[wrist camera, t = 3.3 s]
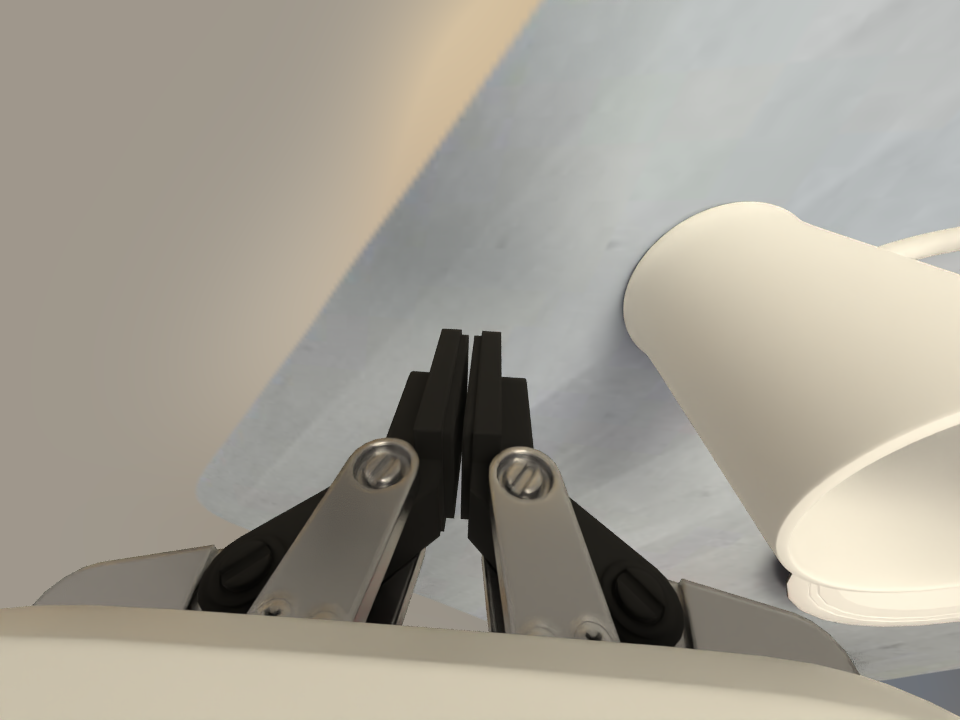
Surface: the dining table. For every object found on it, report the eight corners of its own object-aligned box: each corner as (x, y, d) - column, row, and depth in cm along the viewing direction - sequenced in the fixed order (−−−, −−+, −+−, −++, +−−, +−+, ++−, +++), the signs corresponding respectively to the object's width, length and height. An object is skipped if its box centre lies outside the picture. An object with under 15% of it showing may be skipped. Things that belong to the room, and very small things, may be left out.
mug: (897, 102, 13) (2179, 45, 3) (895, 285, 17) (1456, 518, 7) (596, 266, 17) (732, 470, 7) (651, 383, 21) (789, 619, 11)
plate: (1064, 590, 33) (1092, 614, 31) (765, 616, 39) (776, 637, 37) (1291, 402, 20) (1359, 426, 18) (788, 484, 26) (806, 508, 24)
